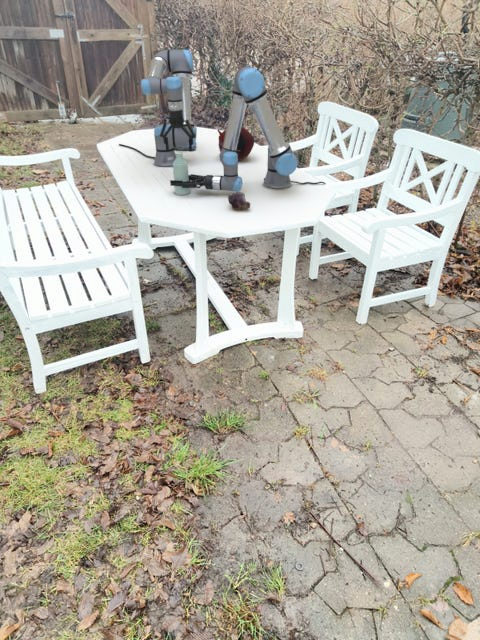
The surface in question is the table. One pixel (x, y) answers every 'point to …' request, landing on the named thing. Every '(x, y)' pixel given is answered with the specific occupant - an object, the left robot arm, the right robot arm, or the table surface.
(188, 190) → the bottle
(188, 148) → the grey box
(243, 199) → the rock
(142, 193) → the table surface
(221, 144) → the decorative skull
